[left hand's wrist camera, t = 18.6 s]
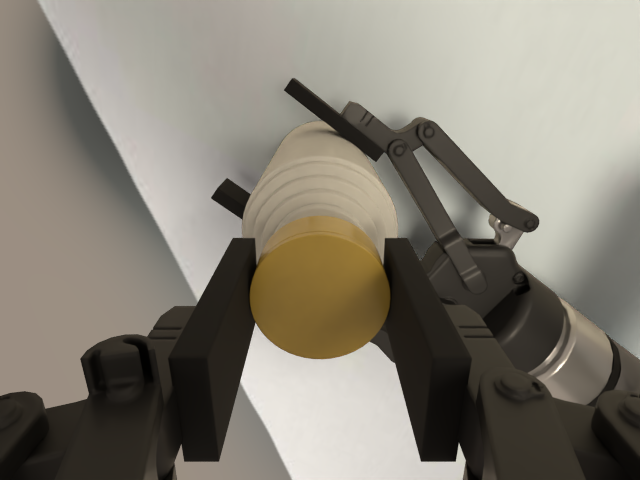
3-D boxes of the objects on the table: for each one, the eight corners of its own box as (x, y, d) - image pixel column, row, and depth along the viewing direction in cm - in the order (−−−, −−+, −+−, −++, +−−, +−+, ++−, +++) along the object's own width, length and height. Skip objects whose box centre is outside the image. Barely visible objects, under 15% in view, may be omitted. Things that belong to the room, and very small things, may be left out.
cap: (247, 315, 15) (238, 345, 13) (270, 202, 14) (263, 220, 12) (363, 338, 16) (369, 370, 14) (398, 231, 14) (409, 252, 12)
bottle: (373, 198, 33) (441, 354, 14) (289, 219, 33) (251, 394, 15) (353, 110, 30) (406, 161, 12) (263, 134, 31) (181, 218, 13)
